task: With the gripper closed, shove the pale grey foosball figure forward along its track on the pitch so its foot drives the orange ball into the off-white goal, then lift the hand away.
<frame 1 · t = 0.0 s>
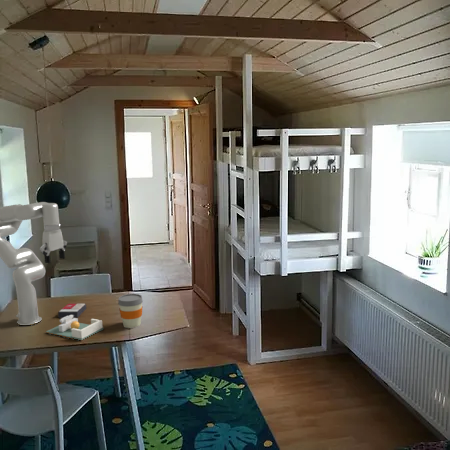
hand: (55, 260, 246), 37 cm above the table, tool pointing down, fingers open, 9 cm apart
reusable coffee cup: (132, 324, 255), on the table
ball: (75, 325, 247), point 3 cm above the table, touching pitch
goal: (88, 334, 244), resting on pitch
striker: (67, 322, 249), point 4 cm above the table, slide at 0.0 cm
calculator: (72, 314, 275), on the table
pitch: (74, 331, 248), on the table
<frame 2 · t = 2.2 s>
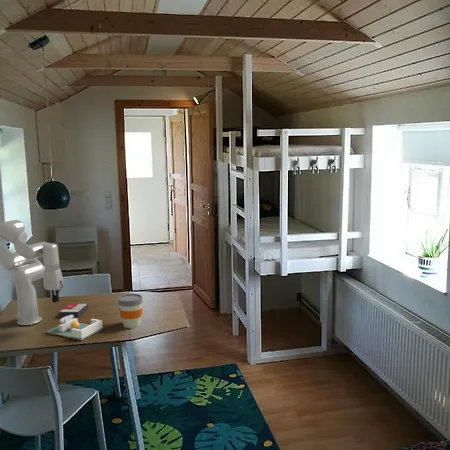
hand: (55, 301, 251), 15 cm above the table, tool pointing down, fingers closed
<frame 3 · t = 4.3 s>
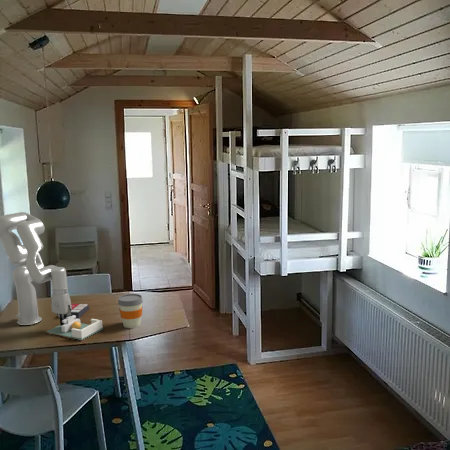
hand: (63, 324, 251), 2 cm above the table, tool pointing down, fingers closed
ball: (76, 325, 247), point 3 cm above the table, tilted 21°, touching pitch
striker: (70, 323, 249), point 4 cm above the table, slide at 1.8 cm, touching gripper
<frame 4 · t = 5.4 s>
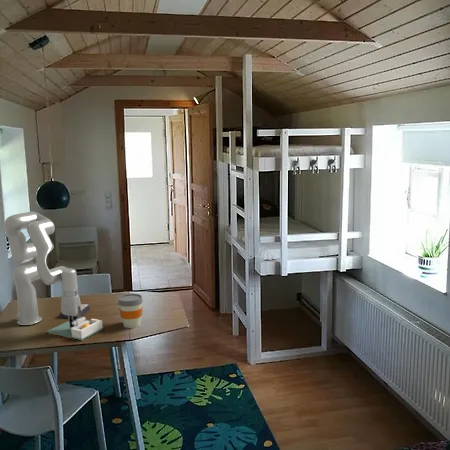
hand: (73, 326, 248), 2 cm above the table, tool pointing down, fingers closed
ball: (86, 327, 244), point 3 cm above the table, tilted 173°, touching pitch
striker: (79, 324, 246), point 4 cm above the table, slide at 8.4 cm, touching gripper
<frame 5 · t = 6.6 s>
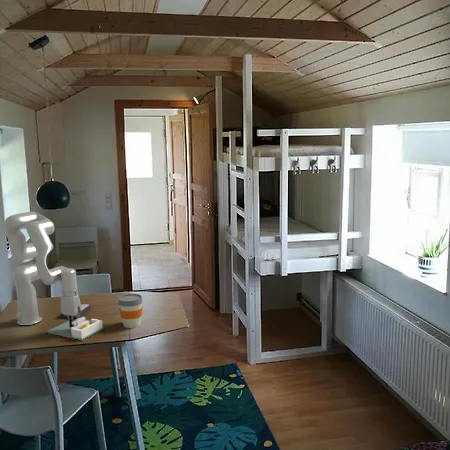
hand: (73, 326, 248), 2 cm above the table, tool pointing down, fingers closed
ball: (86, 327, 244), point 3 cm above the table, tilted 165°, touching pitch
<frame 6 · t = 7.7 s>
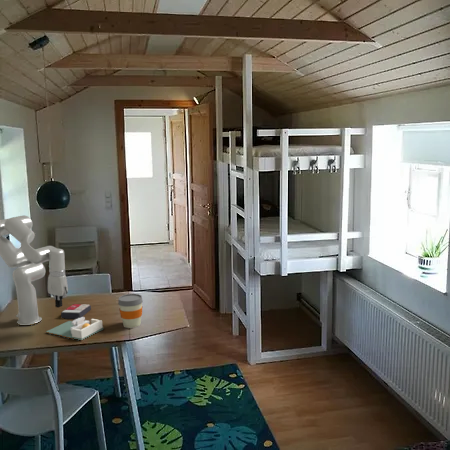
hand: (58, 306, 250), 12 cm above the table, tool pointing down, fingers closed
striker: (79, 324, 246), point 4 cm above the table, slide at 8.0 cm
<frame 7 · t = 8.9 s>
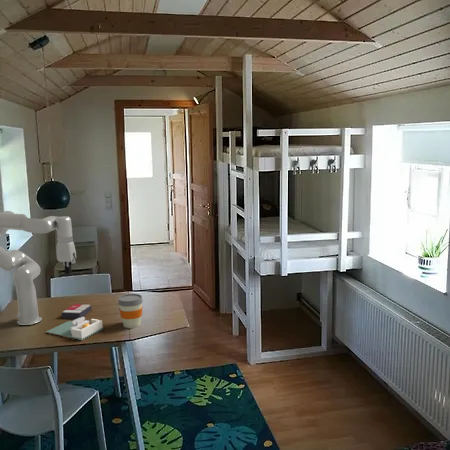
hand: (68, 273, 257), 27 cm above the table, tool pointing down, fingers closed
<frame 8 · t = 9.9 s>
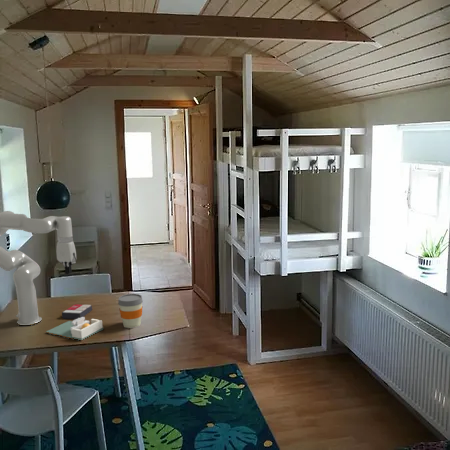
hand: (68, 273, 257), 27 cm above the table, tool pointing down, fingers closed
at the end: ball inside the target area on the goal (0.2 cm from its centre), point 3.2 cm above the goal's base; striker slide at 8.0 cm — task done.
